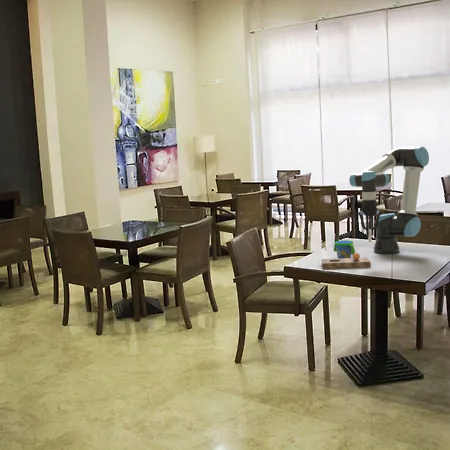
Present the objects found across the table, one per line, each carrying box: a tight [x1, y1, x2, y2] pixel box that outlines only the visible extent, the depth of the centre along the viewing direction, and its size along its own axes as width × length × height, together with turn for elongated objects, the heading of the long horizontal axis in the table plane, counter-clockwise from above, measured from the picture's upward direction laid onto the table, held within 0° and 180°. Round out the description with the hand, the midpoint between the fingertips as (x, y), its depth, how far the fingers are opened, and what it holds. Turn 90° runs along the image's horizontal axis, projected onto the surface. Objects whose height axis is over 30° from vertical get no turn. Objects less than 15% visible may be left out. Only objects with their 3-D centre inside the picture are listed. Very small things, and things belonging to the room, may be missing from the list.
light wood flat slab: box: [321, 256, 372, 270], centre depth 326 cm, size 26×12×3 cm, turn 83°
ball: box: [352, 252, 361, 260], centre depth 325 cm, size 4×4×4 cm
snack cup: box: [333, 240, 356, 258], centre depth 344 cm, size 16×10×10 cm
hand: (370, 241), depth 322 cm, fingers closed
